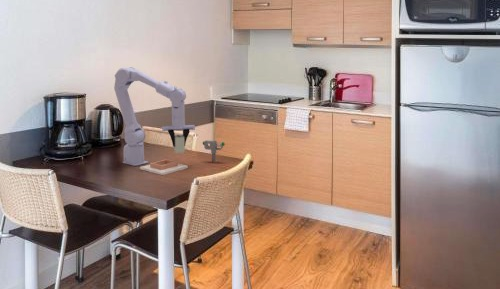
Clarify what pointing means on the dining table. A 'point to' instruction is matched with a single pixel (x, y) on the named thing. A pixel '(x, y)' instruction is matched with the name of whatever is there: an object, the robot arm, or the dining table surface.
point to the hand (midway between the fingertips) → (179, 145)
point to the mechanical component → (213, 147)
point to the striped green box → (179, 144)
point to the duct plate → (164, 167)
